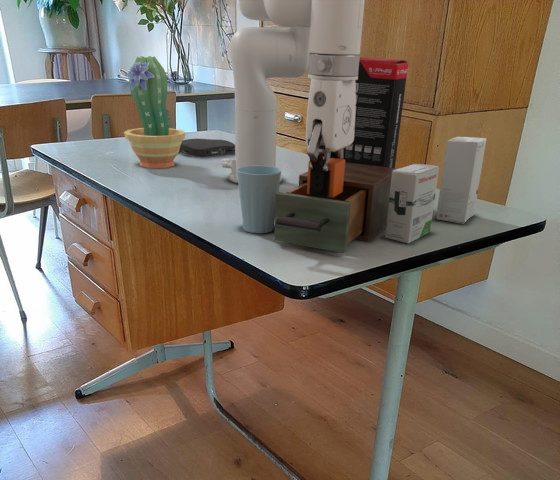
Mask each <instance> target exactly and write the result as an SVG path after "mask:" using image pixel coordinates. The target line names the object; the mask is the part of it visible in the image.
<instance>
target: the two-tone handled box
mask: <svg viewBox="0 0 560 480" xmlns="http://www.w3.org/2000/svg"><path fill="white" fill-rule="evenodd" d="M368 193H369V189H364V188H356V187H349V186H343V192H342V193H340V194H338V195H337V196H335V197H333V198H331V197H324V196H317V195H311V194H307V182H306V183H304V184H302V185H300V186H299V185H298V186H296V187H294V188H292V189H290V190H288V191H286V192H282V191H279V192H278V193H276V199H275V222H274V241H275V242H279V243H286V244H292V245H296V246H297V245H298V246H302V247H303V246H304V247H309V248H313V249H314V248H315V249H318V250H319V249H320V250H325V251H326V250H327V251H332V252H337V253H342V254H344V253H346V252H347V250H348V249H347V247H348V245H349V244H350V243H351V242H353V240H356V239H355V238H356V237H357V236H359V235H360V234H361V233H362V232H364V231H365V222H366V212H367V203H368Z"/></svg>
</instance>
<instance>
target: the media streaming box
mask: <svg viewBox="0 0 560 480" xmlns="http://www.w3.org/2000/svg"><path fill="white" fill-rule="evenodd" d="M178 153H181V154H185V155H189V156H192V157H195V158H196V157H197V158H207V157H217V156H225V155H232V154H235V143H234V142H232V141H229V140H227V139H210V138H188V139H183V140H182V142H181V146H180V150H179V152H178Z"/></svg>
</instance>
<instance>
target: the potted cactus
mask: <svg viewBox="0 0 560 480" xmlns="http://www.w3.org/2000/svg"><path fill="white" fill-rule="evenodd" d="M125 78H128V82H129V83H128V84H129V90H130V95H131V97H132V99H133V101H134V103H135V105H136V107H137V110H138V114H139V119H140V121H141V125H142V127H138V128H132V129H131V128H130V129H126V130H125V131H123V134H124V138H125V139H126V140H127V141H128V142H129V145H130V147H131V150H132V152H133V153H134V154H135V156H136V157H137V159H139V166H140V167H143V168H147V169H166V168H172V167H174V166H175V165H176V163H175V161H174V160H175V159H176V157H177V155H178V154H179V153H180V152H179V150H180V146H181V142H182V140H185V138H186V131H184V130H182V129H178V128H171V127H169V119H168V112H167V99H168V75H167V73H166V70H165V69H164V67H163V66H162V64H161V62H159V60H158V59H157V58H156V56H154V55H153V56H151V55H148V56H146V57H145V56H142V55H141V56H137V57H136V58H135V60H134V62H133V64H132V66H130V67H129V71H128V72H127V73H126V76H125Z"/></svg>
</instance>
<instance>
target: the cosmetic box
mask: <svg viewBox="0 0 560 480" xmlns="http://www.w3.org/2000/svg"><path fill="white" fill-rule="evenodd" d="M487 141H488V140H487V137H486V138H485V137H471V136H455V137H452V138H450V139H448V140H447V141H446V144H445V145H446V146H445V153H444V160H443V167H442V173H441V174H442V175H441V180H440V187H439V193H438V194H439V195H438V202H437V209H436V214H435V215H436V216H435V219H436V220H439V221H447V222H451V223H456V224H461V225H464V224H466V222H467V221H468V220H469V219H471V218H472V217H474V214H475V210H476V204H477V199H478V193H479V186H480V182H481V175H482V169H483V163H484V155H485V151H486V146H487V145H486V144H487Z"/></svg>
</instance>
